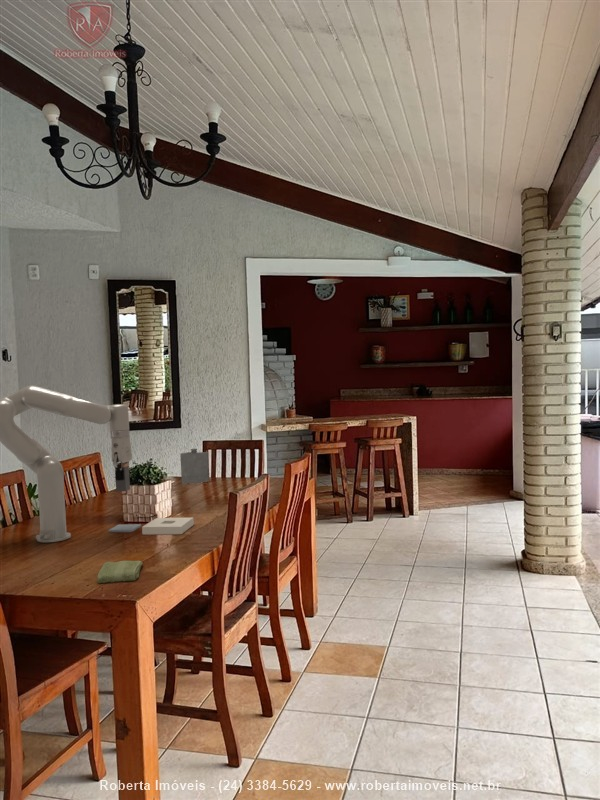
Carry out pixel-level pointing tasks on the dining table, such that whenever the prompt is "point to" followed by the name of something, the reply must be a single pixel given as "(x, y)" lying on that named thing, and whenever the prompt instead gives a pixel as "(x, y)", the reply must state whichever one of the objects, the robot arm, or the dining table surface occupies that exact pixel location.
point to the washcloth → (119, 571)
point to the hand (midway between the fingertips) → (122, 478)
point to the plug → (124, 484)
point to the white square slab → (167, 526)
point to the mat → (125, 528)
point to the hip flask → (194, 467)
